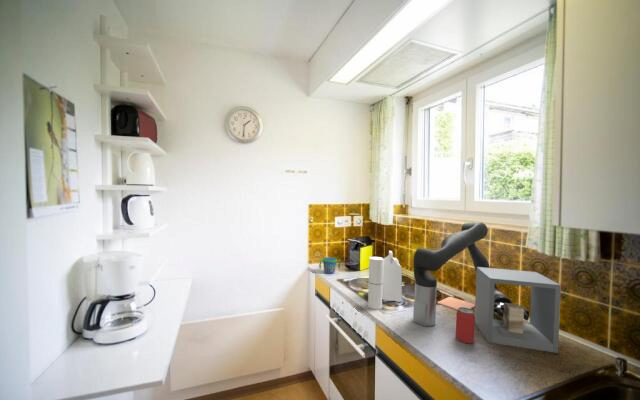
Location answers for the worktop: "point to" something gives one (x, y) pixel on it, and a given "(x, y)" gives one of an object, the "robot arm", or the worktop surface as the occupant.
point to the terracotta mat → (455, 303)
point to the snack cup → (329, 264)
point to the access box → (542, 309)
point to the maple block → (513, 317)
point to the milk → (392, 279)
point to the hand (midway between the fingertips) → (514, 316)
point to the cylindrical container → (375, 282)
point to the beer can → (465, 325)
